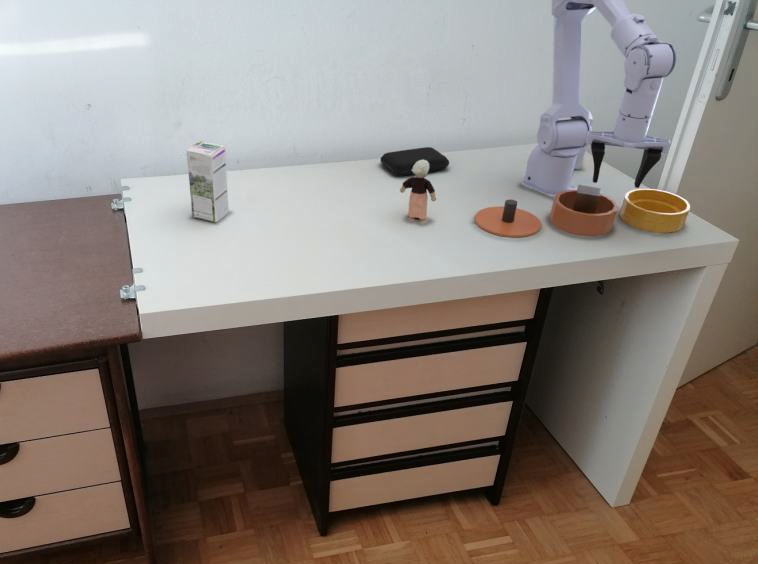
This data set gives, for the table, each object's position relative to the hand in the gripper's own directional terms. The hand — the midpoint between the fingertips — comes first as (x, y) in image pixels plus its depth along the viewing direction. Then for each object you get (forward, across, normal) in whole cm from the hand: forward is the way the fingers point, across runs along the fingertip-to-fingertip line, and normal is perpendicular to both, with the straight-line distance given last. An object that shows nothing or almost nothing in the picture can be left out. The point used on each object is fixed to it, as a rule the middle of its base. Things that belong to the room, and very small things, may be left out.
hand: (615, 183), depth 141 cm
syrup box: (+10, -77, -19) cm, 80 cm away
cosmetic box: (+10, -6, +33) cm, 35 cm away
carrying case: (+10, -42, +20) cm, 47 cm away
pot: (+10, -4, 0) cm, 10 cm away
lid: (+9, -19, -5) cm, 21 cm away
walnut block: (+9, -4, 0) cm, 10 cm away
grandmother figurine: (+10, -37, -8) cm, 39 cm away
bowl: (+10, +10, +6) cm, 15 cm away
